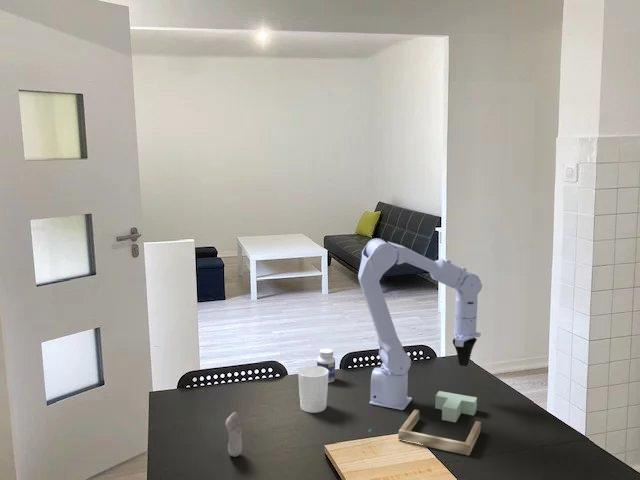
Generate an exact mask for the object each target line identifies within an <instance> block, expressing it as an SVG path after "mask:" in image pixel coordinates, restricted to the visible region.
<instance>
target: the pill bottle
mask: <svg viewBox="0 0 640 480" xmlns="http://www.w3.org/2000/svg"><path fill="white" fill-rule="evenodd" d="M318 352H319V354H318V355H319V356H318V357H317V360H316V364H317V365H316V366H320V367H324V368H326V369H328V371H329V373H328V384H330V383H333V382H335V380H336V359H335V357H333V356H334V350H333V349H331V348H321V349H319V350H318Z"/></svg>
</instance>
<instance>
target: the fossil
mask: <svg viewBox="0 0 640 480" xmlns="http://www.w3.org/2000/svg"><path fill="white" fill-rule="evenodd" d="M239 419H240V418H239V414H238V413H237V412H236V411H234V412H232V413H231V414H230V415H229V416H228V417H227V418H226V420H225V427H226V430H227V432H228V433H227V434H228V443H227V452H228V453H229V455H230V456H232V457H235V458H236V457H238V456H240V454H241V453H242V451H243V439H242V426H241V423H240V420H239Z"/></svg>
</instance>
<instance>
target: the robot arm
mask: <svg viewBox="0 0 640 480" xmlns="http://www.w3.org/2000/svg"><path fill="white" fill-rule="evenodd" d="M405 263H407V264H409V265H412V266H414V267H416V268H419V269H421V270H424V271H426V272H428V273H429V274H430V278H431V279H432V280H434V281H436V282H438V283H441V284H442V285H445V286H448V287H449V288H452V289H455V299H454V301H455V304H454V305H455V306H454V324H453V326H454V329H453V332H452V333H453V336H454V338H453V339H452V344H453V346H454V349H455V351H456V355H457V360H458V364H459V366H461V367H468V365H469V363H470V359H471V356H472V351H473V349H474V346H475V344H476V342H477V340H478V339H477V338H480V337H481V332H477V321H478V319H477V317H478V316H477V315H478V299H479V298H478V296H479V293H480V292H481V290H482V288H483V283H482V282H481V279H480V277H479V276H478V275H476V274H475V273H473V272H471V271H469V270H467V268H466V267H464V266H461V267H459V266H457V265H456V264H454V263H452V261H451V260H450V259H448V258H445V259H442V258H441V259H440V258H439V259H437V260H432V259H431V258H428V257H426V256H424V255H422V254H419V253H418V252H416V251H414V250H412V249H410V248H408V247H405V246H404V245H402V244H401V245H400V244H398V243H395V242H390V241H388V240H387V242H386V241H385V240H384V239H382V238H379V237H378V238H377V237H376V238H372V239H371V240H369V241H368V242H367V243H366V245H365V246H364V248H363V249H362V251H361V259H360V265H359V270H358V275H357V278H358V282H359V285H360V288H361V291H362V294H363V296H364V301H365V302H366V305H367V308H368V312H369V314H370V317H371V320H372V323H373V326H374V328H375V332H376V334H377V338H378V340H377V342H378V346H379V349H378V356H379V359H380V360H381V362H382V363H381V365H380V367H374V368H373V369H372V373H371V377H370V399H369V400H370V401H369V405H374V406H378V407H384V408H389V409H390V408H391V409H395V410H400V411H403V410H405V409H406V408H407V406H408V405H409V404H410V403H411V401H412V400H413V397H410V396H408V387H409V385H408V380H409V379H408V378H409V376H408V375H409V369H411V366H412V360H411V357H410V355H409V354H408V353H407V352H406V351H405V349H404V347H403V345H402V342H401V340H400V339H399V337H398V335H397V334H398V333H397V331H396V329H395V326H394V322H393V319H392V316H391V313H390V310H389V308H388V304H387V302H386V298H385V295H384V293H383V292H384V291H383V289H382V286H381V283H380V280H381V279H382V277H383V275H384V274H385V273H386V272H388V270H390V268H391V267H393V266H394V265H395V264H396V265H398V266H399V265H402V264H405Z"/></svg>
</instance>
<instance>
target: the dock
mask: <svg viewBox="0 0 640 480" xmlns="http://www.w3.org/2000/svg"><path fill="white" fill-rule="evenodd" d="M419 420H420V409H413V411H412V412H411V413H410V415H409V416H408V418H407V419H406V420H405V422H403V424H402V425H401V427H400V429H398V435H397V436H398V439H401V440H406V441H411V442H417V443H418V442H419V443H421V444H423V445H424V446H423V447H426V448H432V449H435V450H436V449H437V450H440V451H446V452H452V453H455V454H460V455H464V456H465V455H466V456H470V455H471V452H472V451H473V449H474V446H475V444H476V442H477V440H478V437H479V435H480V433H481V428H482V425H481V424H482V422H481V421H478V420H475V422H474V424H473V425H472V428H471V430H470V432H469V433H468V436H467V438H466V440H465V441H460V440H456V439H451V438H445V437H440V436H436V435H431V434H428V433H427V434H426V433H422V432H416V431H412V430H413V428H414V427H415V425H416V424H417V423H418V422H419ZM398 439H397V440H398Z"/></svg>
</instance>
